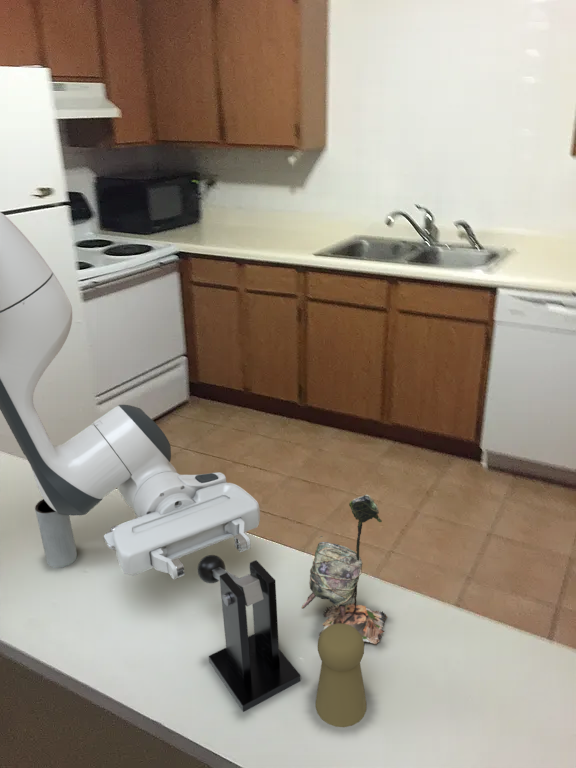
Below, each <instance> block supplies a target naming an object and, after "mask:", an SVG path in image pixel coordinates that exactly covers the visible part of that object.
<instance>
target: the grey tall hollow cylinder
mask: <svg viewBox="0 0 576 768" xmlns="http://www.w3.org/2000/svg"><path fill="white" fill-rule="evenodd" d="M34 510H35V515H36V520H37V524H38V528H39V534H40V537H41V542H42V546H43V551H44V555H45V561H46V563H47V565H48V566H49V567H50V568H53V569H60V568H65V567H68V566H70V565H72V564H73V563H74V562H75V561H76V560H77V558H78V552H77V547H76V542H75V536H74V531H73V526H72V522H71V515H61V514H58V512H56V511H54V510H53V509H52V508H51V507H50V506H49V505H48V504H47V503H46V502H45V500H44V499H43V498H42V499H41V500H39V501H38V502H36V504H35V507H34Z"/></svg>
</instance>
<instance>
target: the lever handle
mask: <svg viewBox="0 0 576 768" xmlns="http://www.w3.org/2000/svg"><path fill="white" fill-rule="evenodd" d="M225 573H227V574H228V575H229V576H230V577H231V578H232V579H233V581H234V582H235V583H236V584H237V585H238V587H239V588H240V589H241V590H242V591H243V592H244V594H245V603H246V608H247V607H250V606H252V604H254V603H256V602H258V601H261V600H263V599H264V598H263V594H262V589H261V585H260V581H259V579H257V578H255V577H253V576H251V575H250V573H249V574H246V575H244V576H241V577H239V576H237V575H235V574H233V573H231V572H229V571H227V570H226V565H225V562H224V560H223V559H222V558H221V557H220V556H218V555H214V554H208V555H206V556H204V557H202V559H200V561H199V563H198V565H197V575H198V576H199V578H200V580H201V581H202V582H204V583H206V584H216V583H219V582H220V577H219V576H220V575H222V574H225Z"/></svg>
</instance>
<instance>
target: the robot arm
mask: <svg viewBox="0 0 576 768" xmlns="http://www.w3.org/2000/svg"><path fill="white" fill-rule="evenodd" d="M72 323H73V307H72V304H71V302H70V299H69V297H68V295H67V293H66V291H65V289H64V287H63V285H62V284H61V282H60V281H59V279H58V278H57V276H56V274H55V273H54V272H53V270H52V269H51V267H50V266H49V264H48V263H47V262H46V260H45V258H43V256H42V255H41V254H40V252H39V251H38V249H36V247H35V246H34V245H33V244H32V242H31V241H30V240H29V239H28V237H27V236H26V235H25V234H24V233H23V232H22V230H21V229H19V228H18V226H16V225H15V224H14V223H13V221H12V220H11V219H10V218H9V217H8V216H7V215H5V213H3V212H1V211H0V412H1V414H2V416H3V418H4V419H5V422H6V423H7V425H8V427H9V429H10V430H11V433H12V435H13V436H14V438H15V441H16V442H17V444H18V446H19V448H20V450H21V451H22V453H23V455H24V456H25V457H26V459H27V461H28V463H29V465H30V469H31V471H32V474H33V477H34V481H35V484H36V487H37V489H38V491H39V493H40V496H41V497H42V500H43V499H44V500H45V502H46V503H47V504H48V505H49V506H50V507H51V508H52V509H53V510H54V511H56V512H58V514H61V515H69V516H85V515H87V514H88V513H89V512H90V511H91V510H92V509H94V508H95V507H96V506H97V505H98V504H100V502H102V501H103V500H104V498H105V497H106V496H108V495H109V494H110V493H112V492H113V491H114V490H116V489H117V491H118V492H119V494H120V495H121V497H122V498H123V500H124V501H125V503H126V504H127V505H128V507H130V508H131V509H133V513H134V515H135V516H136V518H133V519H130V520H127V521H124V522H122V523H120V524H116V525H113V526H112V527H110V530H109V531H107V532H106V533H105V534H104V535H103V541H104V543H105V544H106V546H107V548H109V549H110V550H114V551H115V555H116V559H117V562H118V564H119V567H120V569H121V571H122V573H123V574H125V575H127V576H132V577H133V576H136V575H139V574H141V573H144V572H147V571H150V570H151V569H154V570H156V571H157V572H161V573H164V574H169V576H170V577H171V579H172V580H176V579H179V578H181V577H183V576H185V575H186V574H185V567H184V564H183V562H181V560H180V558H182V557H186V556H187V555H190V554H193V553H195V552H198V551H200V550H202V549H205V548H208V547H211V546H213V545H216V544H218V543H220V542H223V541H225V540H228V539H231V538H233V540H234V548H235V549H236V550H238V553H242V552H245V551H247V550H250V549H251V539H250V538H249V536H248V535H247V534H246V532H249V531H251V530H254V529H257V528H258V527H259V525H260V522H261V510H260V509H261V508H260V504H259V502H258V501H257V500H256V499H255V497H253V495H251V494H250V493H248V491H246V490H245V489H244V488H243V487H241V486H240V485H238V484H236V483H233V482H227V477H226V475H225V474H224V473H223V472H218V471H217V472H209V473H202V474H201V473H200V474H180V473H179V472H178V470H177V469H176V468H175V466H174V465H173V464H172V463H171V460H172V449H171V448H172V447H171V443H170V441H169V439H168V437H167V435H166V434H165V433H164V431H163V430H162V429H161V428H160V426H159V425H158V424H157V423H156V422H155V421H154V420H153V419H152V418H151V417H150V416H149V415H148V414H146V413H145V411H144V410H143V409H142V408H140V407H137V406H133V405H129V404H118V405H117V406H115V407H113V408H111V409H110V410H109V411H107V412H105V414H103V415H102V416H100V417H99V418H97V419H96V420H94V421H93V422H92V423H91V424H90V425H87V426H86V427H85V428H83V429H82V430H81V431H79V432H78V433H76V434H75V435H74V436H72V437H70V438H69V439H68V440H66V441H65V442H64V443H61V444H58V445H54V444H53V441H52V440H51V438H50V436H49V433H48V432H47V429H46V428H45V426H44V424H43V422H42V420H41V418H40V416H39V414H38V412H37V410H36V408H35V404H34V393H35V390H36V387H37V385H38V383H39V381H40V379H41V377H42V376H43V375H44V373H45V371H46V370H47V369H48V367H49V366H50V365H51V363H52V362H53V360H55V358H56V356H57V355H58V354H59V353H60V351H61V350H62V348H63V347H64V345H65V343H66V341H67V339H68V337H69V334H70V331H71V328H72Z"/></svg>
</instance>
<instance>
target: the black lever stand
mask: <svg viewBox="0 0 576 768" xmlns="http://www.w3.org/2000/svg"><path fill="white" fill-rule="evenodd" d="M249 575H251V576H253V577H255V578H257V579H259V581H260V585H261V589H262V594H263V598H264V599H263V600H261V601H258V602H256V603H254V604H252V605H251V606H252V617H253V618H252V619H253V620H252V621H253V634H251V635H249V631H248V630H249V629H248V619H247V606H246V603H245V594H244V592H243V591H242V590H241V589H240V588H239V587H238V585H237V584H236V583H235V582H234V581H233V579H232V578H231V577H230V576H229V575H228V574H227V573H225V574H222V575H220V576H219V577H220V581H219V586H220V598H221V608H222V609H221V610H222V618H223V628H224V639H225V647H224V648H222V649H220V650H218V651H216V652H214V653H212V654H210V655H208V661H209V662H208V663H209V664H210V666H211V667H212V668H213V670H214V671H215V673H216V674H217V676H218V678H219V679H220V680H221V682H222V683H223V685H224V686H225V688H226V689H227V692H229V693H230V695H231V697H232V698H233V700H234V701H235V702H236V704H237V706H238V707H239V709H240V710H241V711H242V713H244V712H247V711H248V710H251V709H252V708H254V707H256V706H257V705H259V704H261V703H263V702H266V701H267V700H268V699H270V698H272V697H274V696H276V695H277V694H280V693H282V692H283V691H285V690H287V689H288V688H291V687H292V686H295V685H296V684H298V683H300V682H301V680H302V679H301V673H299V672H298V670H297V669H296V668H295V667H294V665H293V664H292V663H291V661H290V660H289V659H288V658H287V657H286V656H285V654H284V653H283V652H282V651H281V650H280V643H279V625H278V623H279V622H278V607H277V606H278V605H277V588H276V587H277V586H276V579H275V578H274V577H273V576H272V575H271V574H270V573H269V571H267V570H266V569H265V567H264V566H263V565H262V564H261V563H260V562H259V561H258V560H257V559H256V560H253V561H251V562H249Z"/></svg>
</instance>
